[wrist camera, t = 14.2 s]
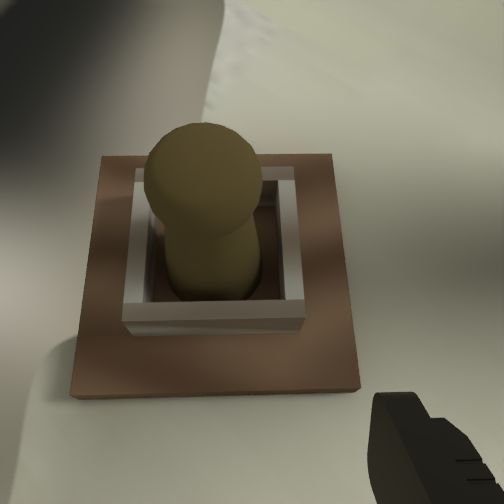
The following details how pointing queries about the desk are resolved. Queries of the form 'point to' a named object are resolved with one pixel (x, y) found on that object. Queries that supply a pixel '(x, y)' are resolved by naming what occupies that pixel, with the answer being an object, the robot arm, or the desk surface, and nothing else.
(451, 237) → the desk surface
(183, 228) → the cork
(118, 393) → the mount board
